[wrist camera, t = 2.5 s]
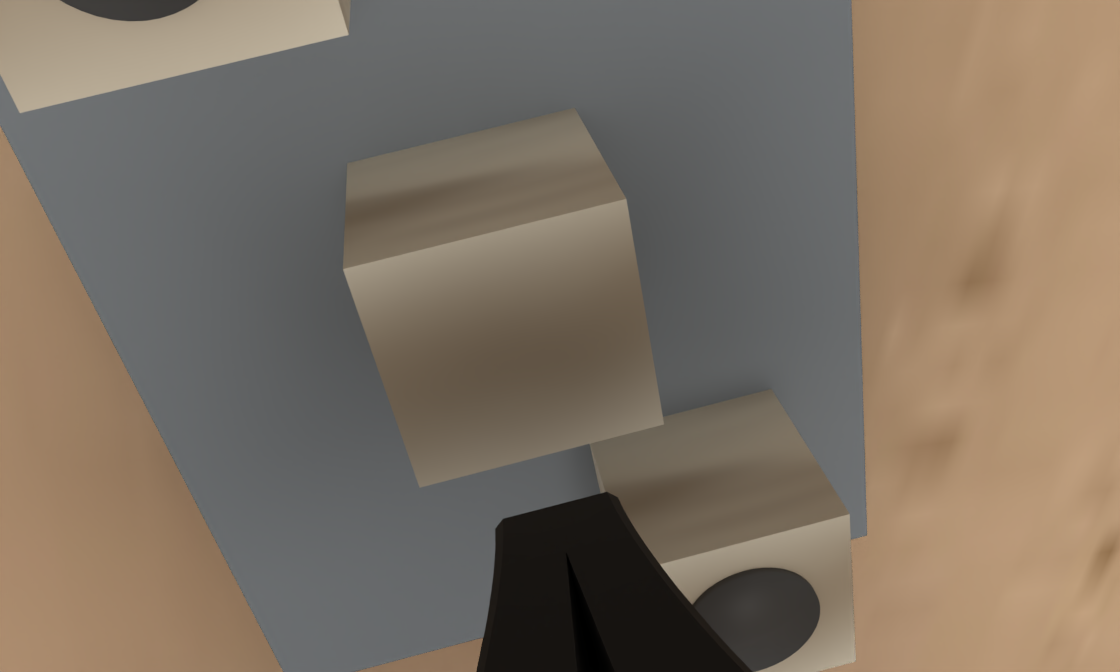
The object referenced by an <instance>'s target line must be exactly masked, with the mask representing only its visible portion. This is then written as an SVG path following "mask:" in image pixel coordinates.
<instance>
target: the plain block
mask: <svg viewBox="0 0 1120 672" xmlns="http://www.w3.org/2000/svg"><path fill="white" fill-rule="evenodd" d="M343 271H344V274H345V277H346V279H347V282H348V285H349V288H350V291H351V294H352V297H353V299H354V302H355V305H356V308H357V311H358V314H359V317H360V319H361V322H362V325H363V328H364V331H365V334H366V336H367V339H368V342H369V345H370V348H371V351H372V354H373V356H374V359H375V362H376V365H377V368H378V371H379V373H380V376H381V379H382V382H383V385H384V388H385V391H386V393H387V396H388V399H389V402H390V405H391V408H392V411H393V413H394V416H395V419H396V422H397V425H398V428H399V430H400V433H401V436H402V439H403V442H404V445H405V448H406V450H407V453H408V456H409V459H410V462H411V465H412V467H413V470H414V473H415V476H416V479H417V482H418V485H419V487H424V486H428V485H432V484H436V483H440V482H444V481H447V480H451V479H455V478H459V477H463V476H467V475H471V474H474V473H478V472H482V471H486V470H490V469H494V468H498V467H501V466H505V465H509V464H513V463H517V462H521V461H525V460H529V459H532V458H536V457H540V456H544V455H548V454H552V453H556V452H559V451H563V450H567V449H571V448H575V447H579V446H583V445H587V444H590V443H594V442H598V441H602V440H606V439H610V438H614V437H617V436H621V435H625V434H629V433H633V432H637V431H641V430H644V429H648V428H652V427H656V426H660V425H664V421H663V415H662V409H661V403H660V397H659V391H658V385H657V379H656V373H655V367H654V361H653V355H652V349H651V343H650V337H649V331H648V325H647V319H646V313H645V307H644V301H643V295H642V289H641V283H640V277H639V272H638V266H637V260H636V254H635V248H634V242H633V236H632V230H631V224H630V218H629V212H628V206H627V200H626V197H625V196H624V194H623V192H622V190H621V189H620V187H619V185H618V183H617V182H616V180H615V178H614V176H613V175H612V173H611V171H610V169H609V167H608V166H607V164H606V162H605V160H604V159H603V157H602V155H601V153H600V152H599V150H598V148H597V146H596V145H595V143H594V141H593V139H592V138H591V136H590V134H589V132H588V131H587V129H586V127H585V125H584V123H583V122H582V120H581V118H580V116H579V115H578V113H577V111H576V109H575V108H572V109H568V110H564V111H560V112H556V113H551V114H547V115H543V116H539V117H535V118H531V119H527V120H523V121H519V122H515V123H510V124H506V125H502V126H498V127H494V128H490V129H486V130H482V131H478V132H473V133H469V134H465V135H461V136H457V137H453V138H449V139H445V140H441V141H437V142H432V143H428V144H424V145H420V146H416V147H412V148H408V149H404V150H400V151H396V152H391V153H387V154H383V155H379V156H375V157H371V158H367V159H363V160H359V161H354V162H350V163H347V182H346V207H345V231H344V255H343Z"/></svg>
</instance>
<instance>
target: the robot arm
mask: <svg viewBox="0 0 1120 672" xmlns="http://www.w3.org/2000/svg"><path fill="white" fill-rule="evenodd" d="M477 672H752V671H751V670H750V669H749V667H748V666H747V665H746V664H745V663H744V662H743V661H742V660H741V659H740V658H739V657H738V656H737V655H736V654H735V653H734V652H733V651H732V650H731V649H730V648H729V646H728V645H727V644H726V643H725V642H724V641H723V640H722V639H721V638H720V637H719V635H718V634H717V633H716V632H715V631H714V630H713V629H712V628H711V626H710V625H709V624H708V623H707V622H706V621H705V619H704V618H703V617H702V616H701V615H700V613H699V612H698V611H697V610H696V609H695V607H694V606H693V605H692V604H691V603H690V602H689V600H688V599H687V598H686V597H685V596H684V594H683V593H682V592H681V591H680V590H679V588H678V587H677V586H676V585H675V583H674V582H673V581H672V580H671V578H670V577H669V576H668V574H667V573H666V572H665V571H664V569H663V568H662V566H661V565H660V564H659V562H658V561H657V560H656V558H655V557H654V555H653V554H652V553H651V551H650V550H649V549H648V547H647V546H646V544H645V543H644V541H643V540H642V538H641V537H640V535H639V534H638V532H637V531H636V529H635V528H634V526H633V524H632V523H631V521H630V519H629V518H628V516H627V514H626V512H625V511H624V509H623V507H622V505H621V503H620V501H619V498H618V497H616V496H615V495H613V494H611V493H609V492H604V493H600V494H596V495H592V496H589V497H585V498H581V499H577V500H573V501H569V502H566V503H562V504H558V505H554V506H550V507H546V508H542V509H539V510H535V511H531V512H527V513H523V514H519V515H516V516H512V517H508V518H504V519H502V520H501V522H500V523H499V524H498V526H497V527H496V528H495V561H494V573H493V582H492V590H491V596H490V603H489V610H488V616H487V622H486V627H485V632H484V637H483V642H482V647H481V652H480V657H479V662H478V667H477Z"/></svg>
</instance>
